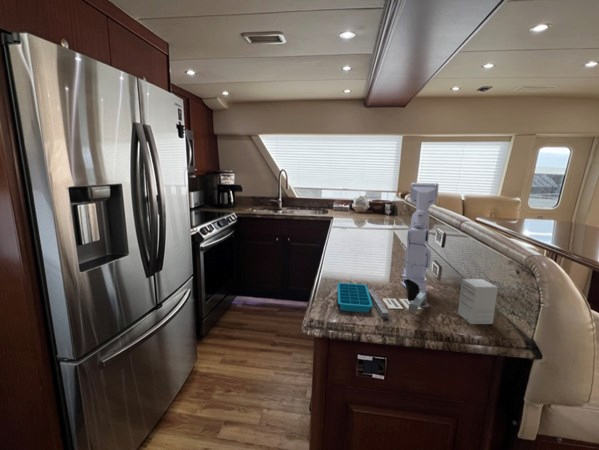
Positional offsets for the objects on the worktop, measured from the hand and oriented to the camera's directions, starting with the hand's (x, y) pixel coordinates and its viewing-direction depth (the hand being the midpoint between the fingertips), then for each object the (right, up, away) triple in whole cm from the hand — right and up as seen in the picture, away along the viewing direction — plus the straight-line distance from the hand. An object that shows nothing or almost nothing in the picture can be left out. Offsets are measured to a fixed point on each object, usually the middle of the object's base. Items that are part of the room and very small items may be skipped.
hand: (411, 300), depth 97 cm
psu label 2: (+1, -3, +5) cm, 6 cm away
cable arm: (+2, -3, -1) cm, 4 cm away
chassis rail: (-11, -3, +4) cm, 12 cm away
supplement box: (+19, -5, -5) cm, 20 cm away
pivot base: (+6, -3, +5) cm, 8 cm away
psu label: (-5, -3, +5) cm, 7 cm away
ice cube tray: (-19, -2, +7) cm, 20 cm away
